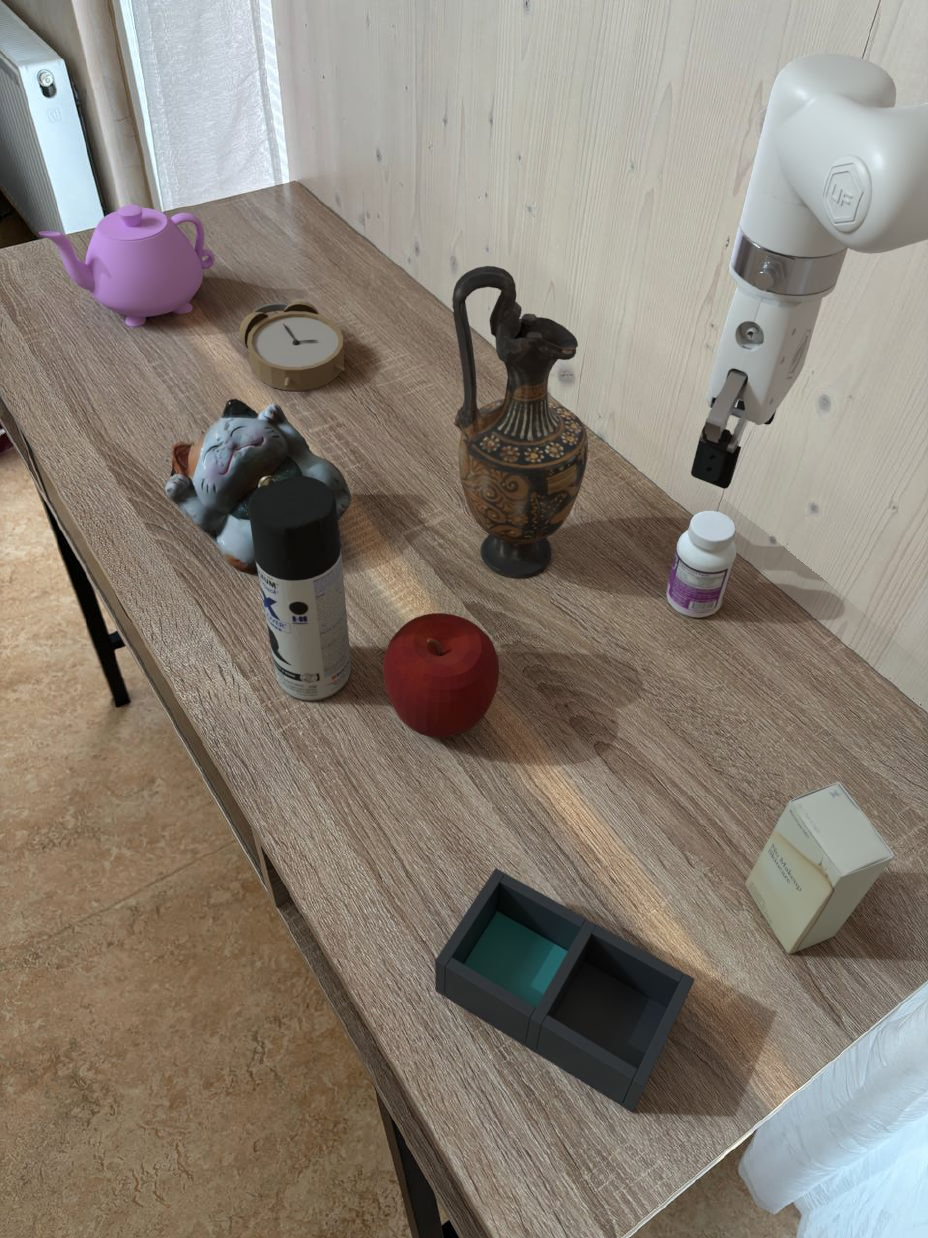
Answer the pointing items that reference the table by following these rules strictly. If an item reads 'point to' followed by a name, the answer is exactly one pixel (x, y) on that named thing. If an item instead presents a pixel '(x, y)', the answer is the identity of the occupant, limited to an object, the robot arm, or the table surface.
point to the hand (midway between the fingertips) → (732, 448)
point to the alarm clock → (292, 346)
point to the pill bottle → (702, 565)
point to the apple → (440, 674)
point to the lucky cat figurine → (243, 474)
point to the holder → (562, 987)
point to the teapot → (139, 263)
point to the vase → (517, 433)
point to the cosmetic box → (816, 867)
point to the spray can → (302, 585)
